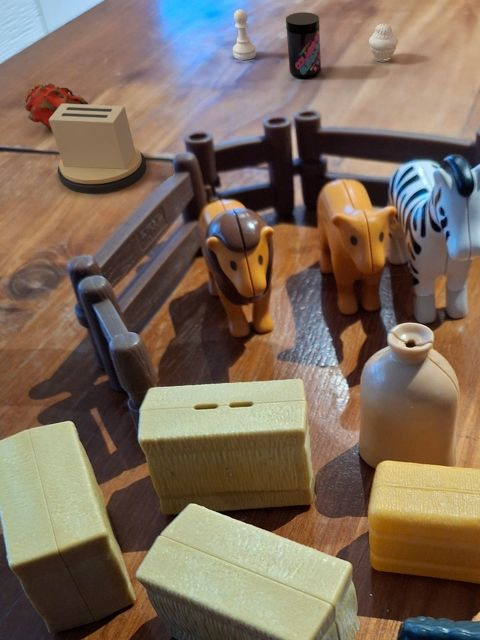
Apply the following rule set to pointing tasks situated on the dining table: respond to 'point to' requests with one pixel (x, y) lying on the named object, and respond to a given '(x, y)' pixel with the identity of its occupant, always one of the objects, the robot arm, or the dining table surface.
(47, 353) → the dining table surface
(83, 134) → the toaster
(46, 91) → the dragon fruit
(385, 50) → the muffin
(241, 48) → the chess pawn
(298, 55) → the supplement container
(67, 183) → the turntable base
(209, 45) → the dining table surface
